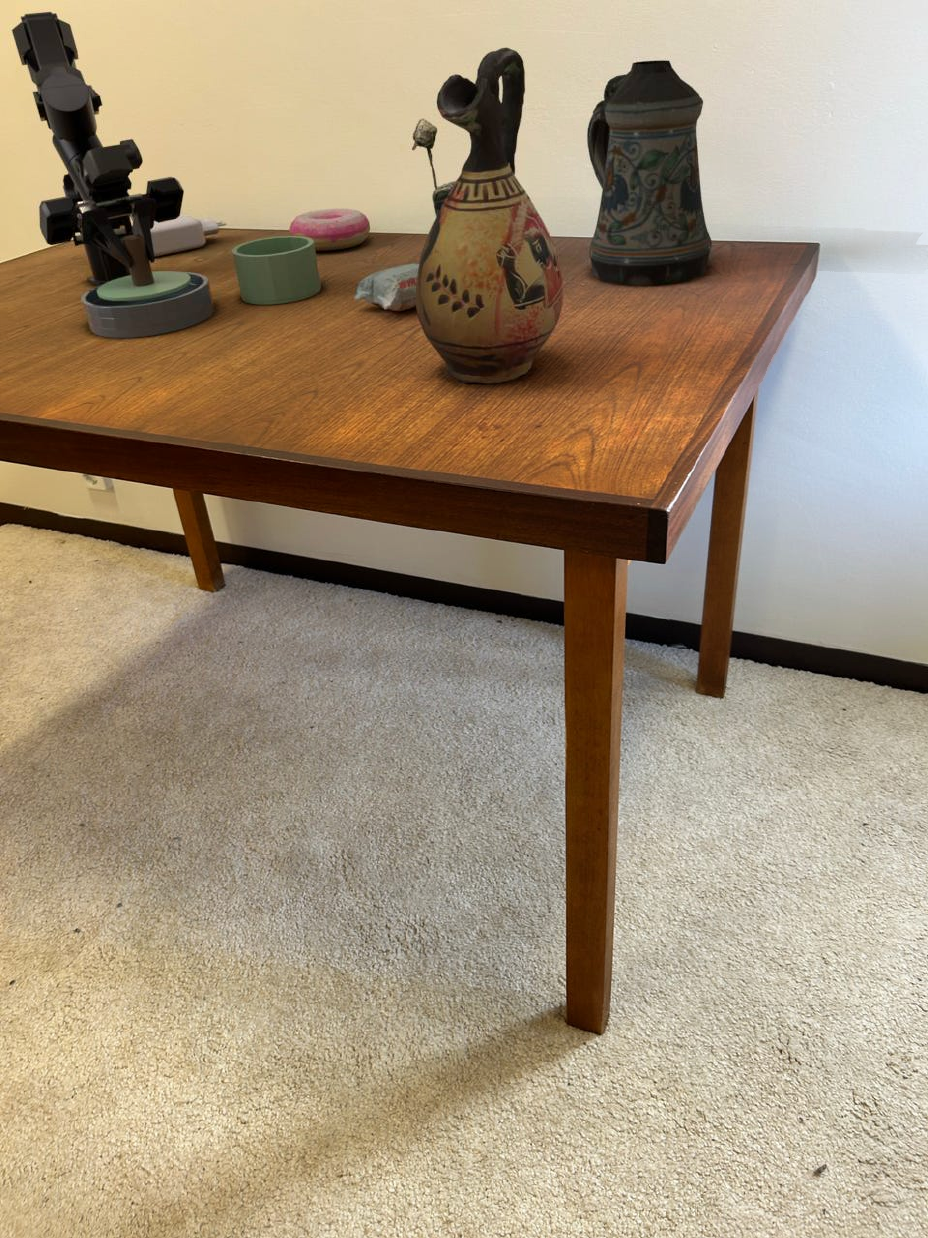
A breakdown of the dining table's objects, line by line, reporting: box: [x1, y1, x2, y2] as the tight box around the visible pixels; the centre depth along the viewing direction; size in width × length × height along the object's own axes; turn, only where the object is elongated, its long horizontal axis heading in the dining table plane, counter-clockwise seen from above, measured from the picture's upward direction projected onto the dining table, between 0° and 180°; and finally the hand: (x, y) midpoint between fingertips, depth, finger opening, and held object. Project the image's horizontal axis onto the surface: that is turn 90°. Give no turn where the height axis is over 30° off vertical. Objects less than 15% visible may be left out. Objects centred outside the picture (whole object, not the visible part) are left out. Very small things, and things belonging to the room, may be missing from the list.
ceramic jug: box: [415, 47, 564, 384], centre depth 95 cm, size 17×15×30 cm
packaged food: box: [354, 262, 419, 312], centre depth 124 cm, size 9×12×5 cm
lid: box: [97, 235, 191, 302], centre depth 126 cm, size 12×12×7 cm
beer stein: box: [586, 59, 713, 287], centre depth 125 cm, size 16×19×25 cm
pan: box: [80, 271, 215, 339], centre depth 129 cm, size 17×17×4 cm
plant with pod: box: [411, 118, 456, 218], centre depth 135 cm, size 8×11×20 cm
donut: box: [288, 207, 371, 252], centre depth 157 cm, size 14×13×5 cm
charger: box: [131, 213, 227, 258], centre depth 165 cm, size 5×9×15 cm
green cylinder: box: [231, 235, 322, 306], centre depth 134 cm, size 11×11×6 cm
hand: (142, 263), depth 125 cm, fingers closed on lid, 3 cm apart
